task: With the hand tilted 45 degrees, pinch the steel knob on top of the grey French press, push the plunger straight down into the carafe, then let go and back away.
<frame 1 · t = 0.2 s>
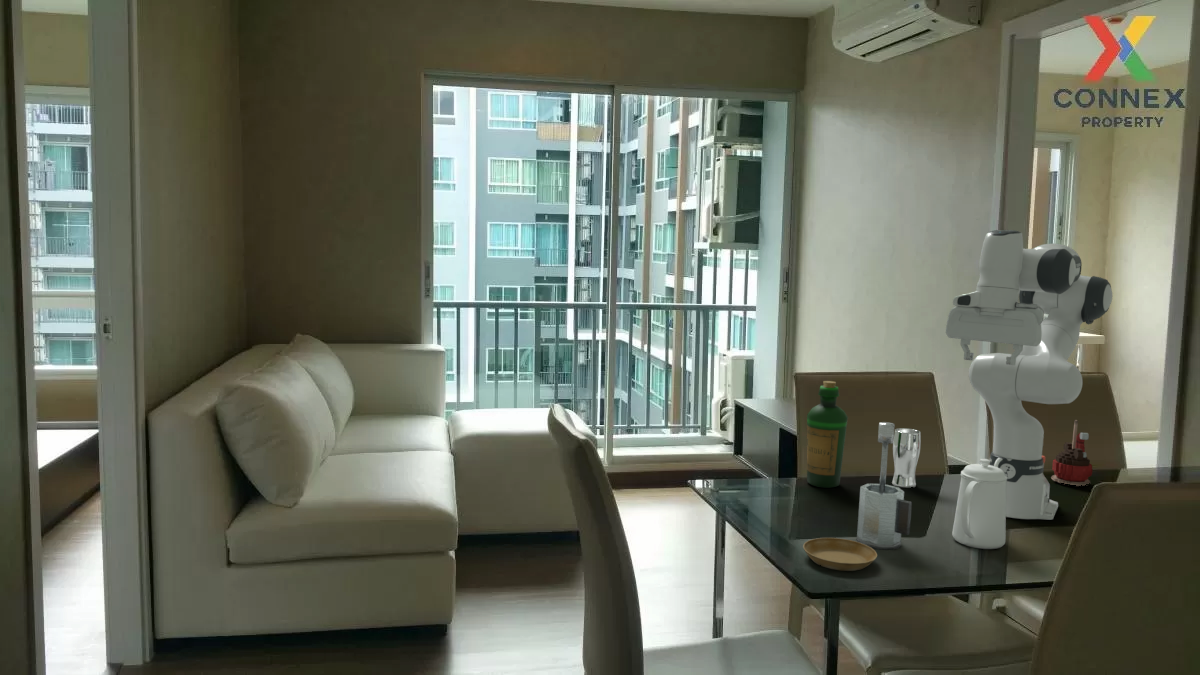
hand: (988, 362, 201), 39 cm above the table, tool pointing down, fingers open, 8 cm apart
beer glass: (903, 485, 244), on the table
plant saucer: (838, 562, 184), on the table
bottle: (823, 485, 241), on the table
plunger: (884, 461, 194), point 18 cm above the table, slide at 0.0 cm
cake: (1070, 484, 251), on the table
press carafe: (878, 542, 196), on the table
coffeepot: (978, 542, 199), on the table
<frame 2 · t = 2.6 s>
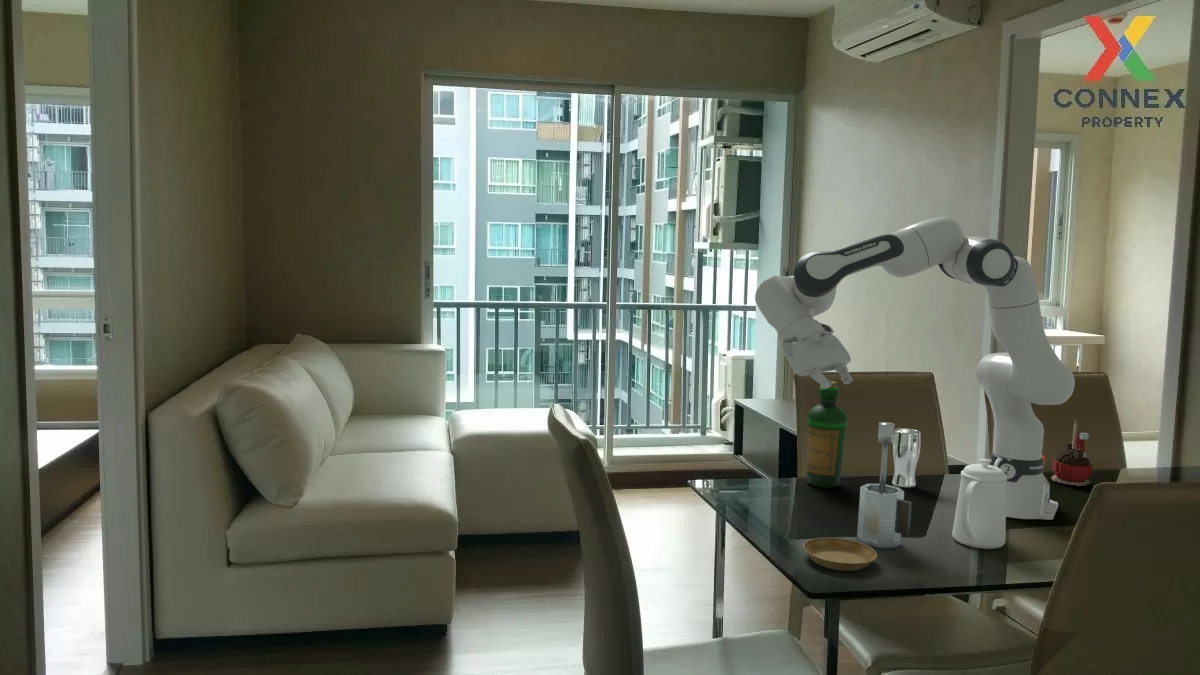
hand: (839, 384, 200), 33 cm above the table, tool tilted 45°, fingers open, 8 cm apart
nothing on the table moved.
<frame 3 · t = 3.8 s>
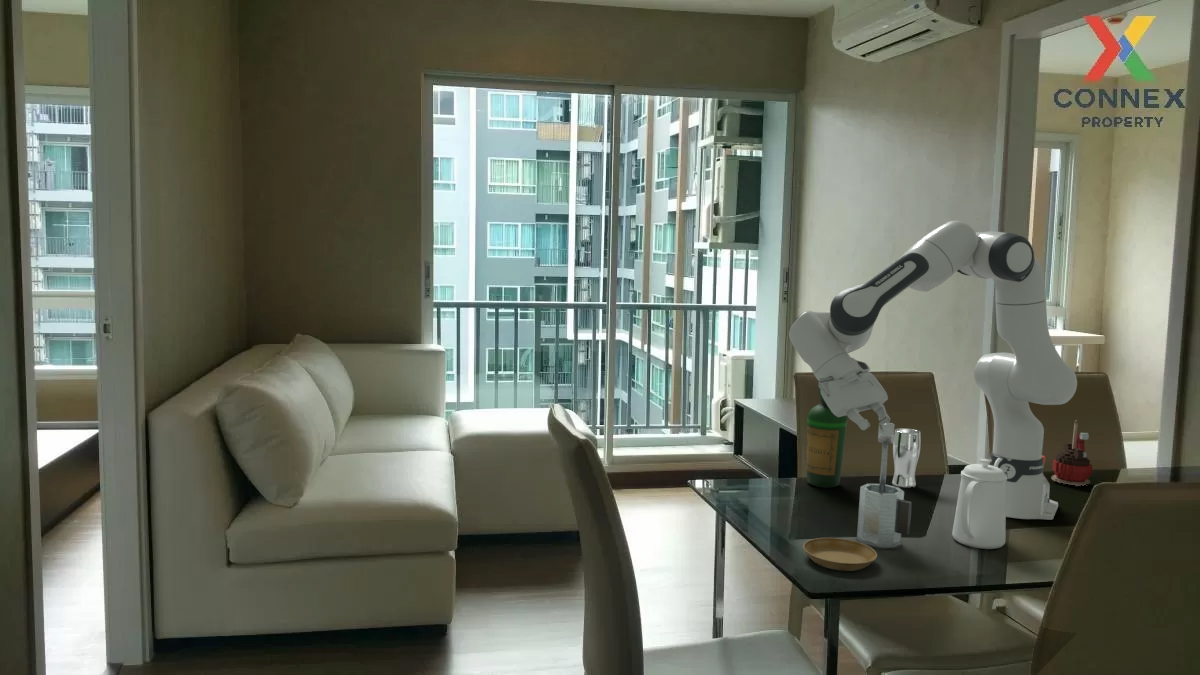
hand: (877, 425, 194), 26 cm above the table, tool tilted 45°, fingers open, 8 cm apart
nothing on the table moved.
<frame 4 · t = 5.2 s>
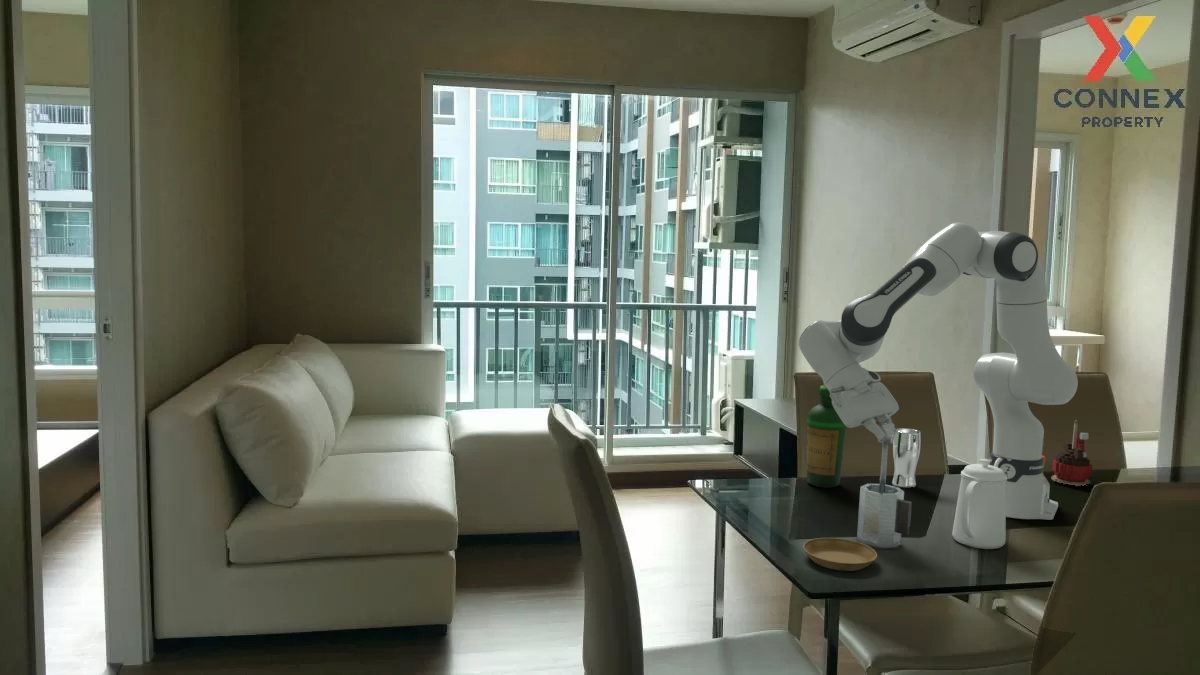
hand: (888, 436, 193), 24 cm above the table, tool tilted 45°, fingers closed on plunger, 3 cm apart
plunger: (884, 461, 194), point 18 cm above the table, slide at 0.0 cm, touching gripper
everything else where it was.
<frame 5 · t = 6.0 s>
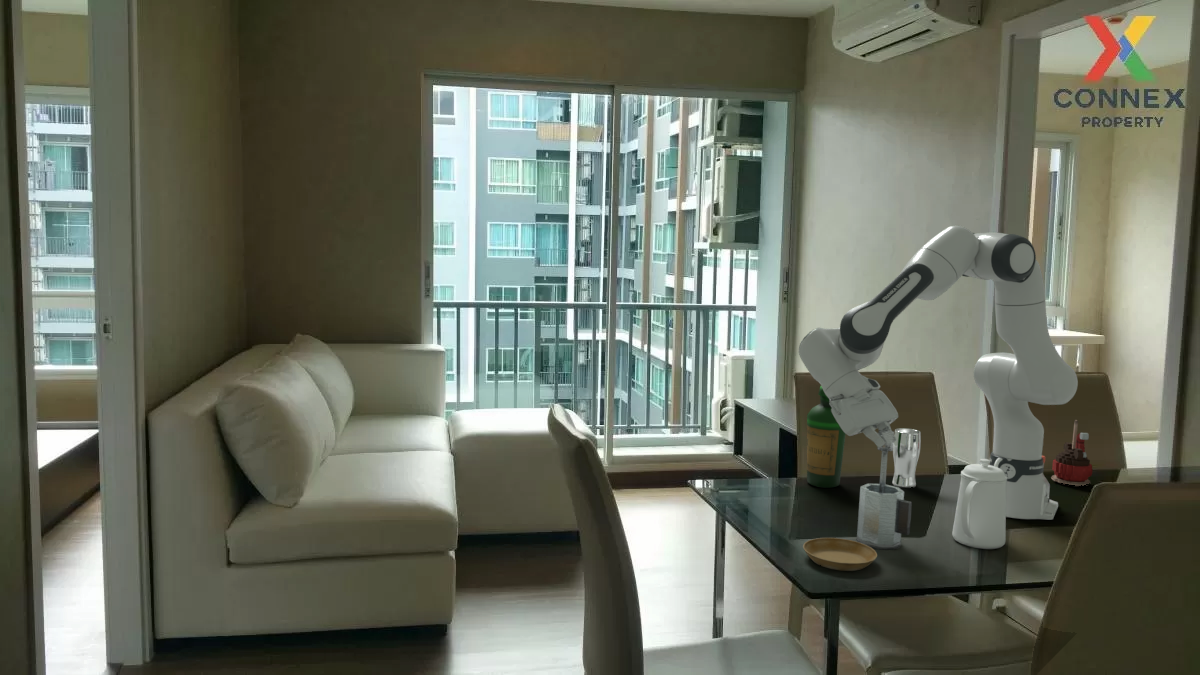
hand: (888, 444, 193), 22 cm above the table, tool tilted 45°, fingers closed on plunger, 3 cm apart
plunger: (883, 469, 194), point 16 cm above the table, slide at 1.7 cm, touching gripper
everything else where it was.
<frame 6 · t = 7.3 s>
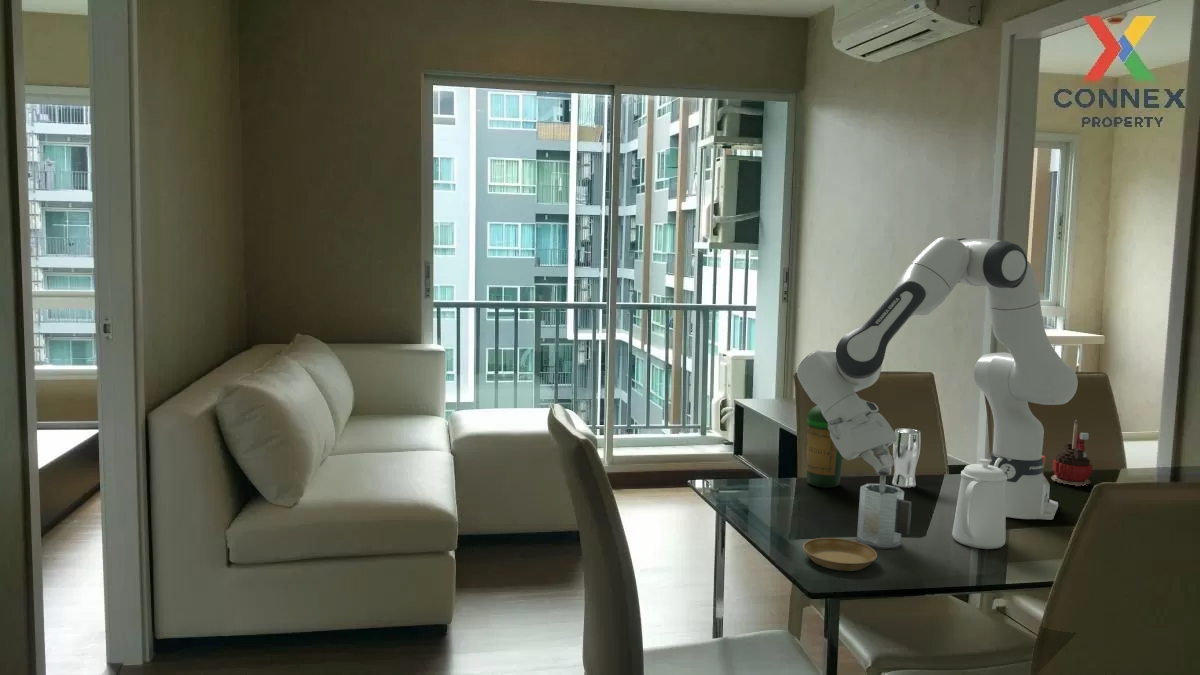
hand: (886, 467, 193), 17 cm above the table, tool tilted 45°, fingers closed on plunger, 3 cm apart
plunger: (881, 493, 194), point 11 cm above the table, slide at 7.0 cm, touching gripper
everything else where it was.
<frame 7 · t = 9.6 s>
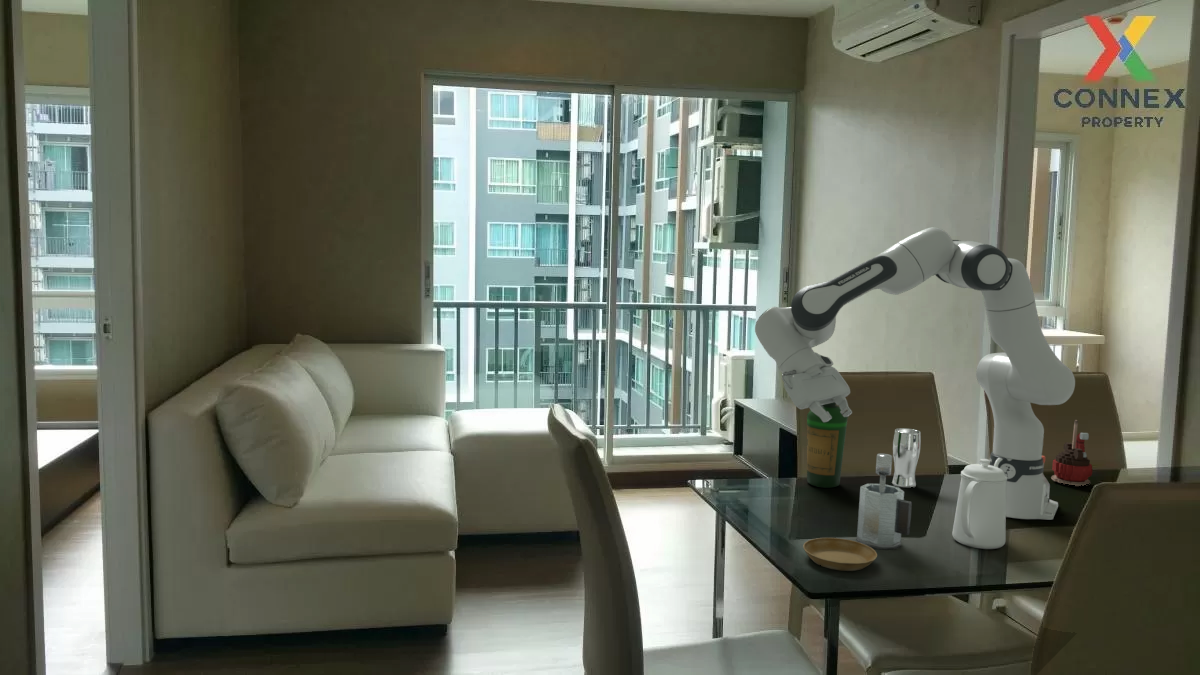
hand: (838, 417, 200), 26 cm above the table, tool tilted 45°, fingers open, 8 cm apart
plunger: (881, 493, 194), point 11 cm above the table, slide at 7.0 cm
everything else where it was.
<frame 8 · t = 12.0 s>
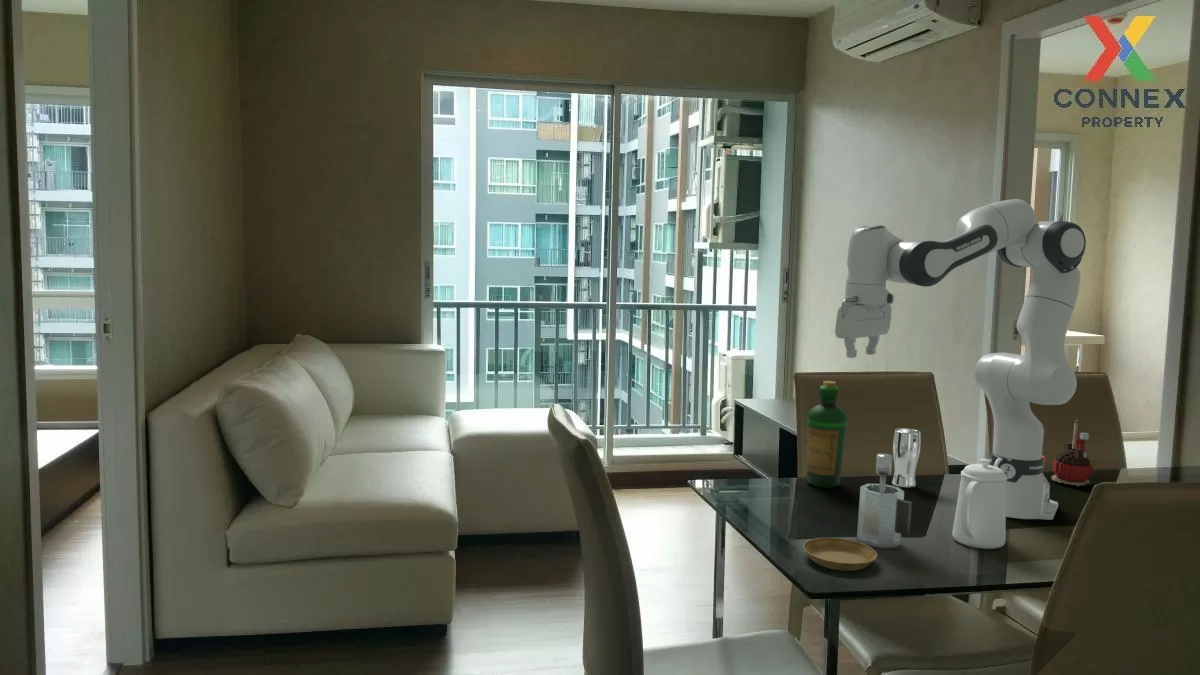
hand: (861, 355, 207), 39 cm above the table, tool pointing down, fingers open, 8 cm apart
nothing on the table moved.
at the end: plunger slide at 7.0 cm; the gripper is holding nothing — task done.
